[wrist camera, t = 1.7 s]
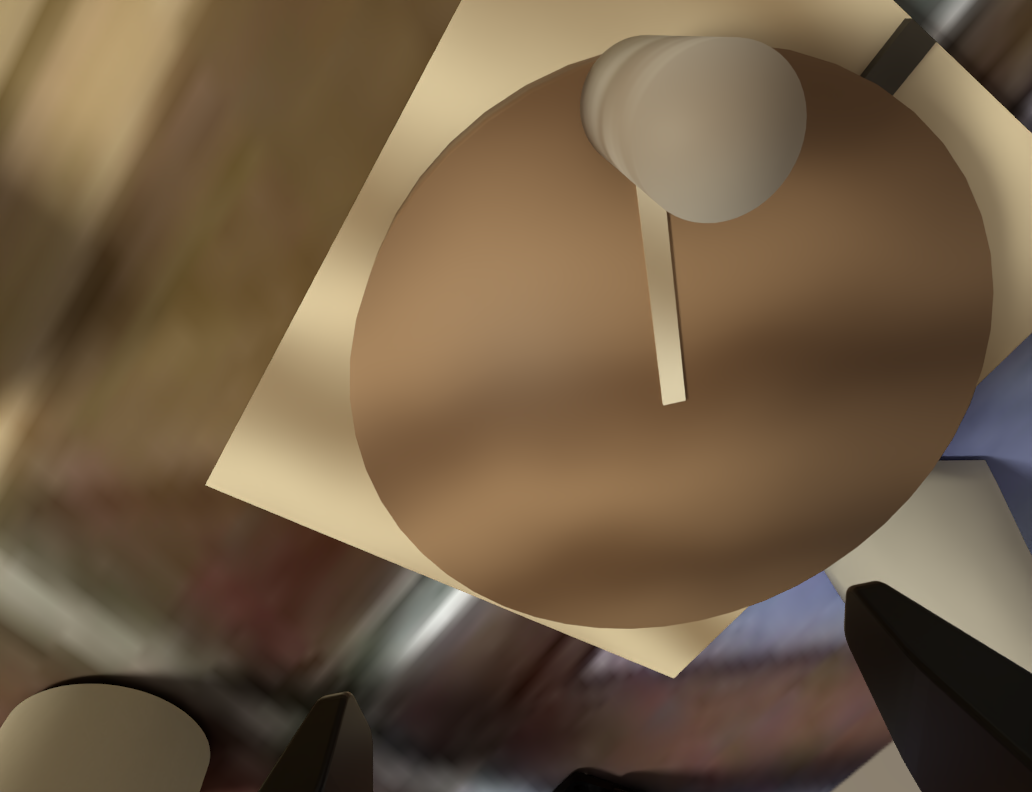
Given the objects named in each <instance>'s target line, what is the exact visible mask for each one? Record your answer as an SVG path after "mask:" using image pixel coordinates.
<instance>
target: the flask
mask: <svg viewBox="0 0 1032 792" xmlns="http://www.w3.org/2000/svg"><path fill="white" fill-rule="evenodd" d="M824 571H825V573H826V575H827V576H828V578H829V579H830V581H831V583H832V584H833V586H834V587H835V589H836V591H837V592H838V594H839V595H840V597H841V599H842V600H843V602H844V603H845V598H846V591H847V589H848V588H849V587H850V586H852V585H856V584H861V583H866V582H871V581H880V582H883V583H885V584H887V585H889V586H890V587H892V588H894V589H895V590H897V591H899V592H900V593H902V594H903V595H905V596H907V597H908V598H910V599H912V600H913V601H915V602H917V603H918V604H920V605H921V606H923V607H925V608H926V609H928V610H930V611H931V612H933V613H934V614H936V615H938V616H939V617H941V618H943V619H944V620H946V621H948V622H949V623H951V624H952V625H954V626H956V627H957V628H959V629H961V630H962V631H964V632H965V633H967V634H969V635H970V636H972V637H974V638H975V639H977V640H979V641H980V642H982V643H983V644H985V645H987V646H988V647H990V648H992V649H993V650H995V651H996V652H998V653H1000V654H1001V655H1003V656H1005V657H1006V658H1008V659H1010V660H1011V661H1013V662H1014V663H1016V664H1018V665H1019V666H1021V667H1023V668H1024V669H1026V670H1027V671H1029V672H1031V673H1032V555H1031V553H1030V551H1029V549H1028V547H1027V545H1026V543H1025V541H1024V539H1023V537H1022V535H1021V533H1020V531H1019V529H1018V527H1017V524H1016V522H1015V520H1014V518H1013V516H1012V514H1011V512H1010V510H1009V508H1008V506H1007V503H1006V501H1005V499H1004V497H1003V495H1002V493H1001V491H1000V489H999V487H998V484H997V482H996V480H995V479H994V477H993V475H992V473H991V471H990V469H989V467H988V465H987V463H986V461H985V460H950V461H938V462H937V464H936V465H935V467H934V468H933V470H932V471H931V472H930V474H929V475H928V476H927V477H926V479H925V480H924V481H923V482H922V484H921V485H920V486H919V487H918V489H917V490H916V491H915V492H914V494H913V495H912V496H911V497H910V498H909V500H908V501H907V502H906V503H905V504H904V505H903V506H902V507H901V508H900V509H899V510H898V511H897V512H896V513H895V514H894V515H893V516H892V517H891V518H890V519H889V520H888V521H887V522H886V523H885V524H884V525H883V526H882V527H880V528H879V529H878V530H877V531H876V532H875V533H873V534H872V535H871V536H870V537H869V538H867V539H866V540H865V541H864V542H863V543H862V544H860V545H859V546H858V547H857V548H855V549H854V550H853V551H851V552H850V553H848V554H847V555H845V556H844V557H843V558H841V559H840V560H838V561H837V562H835V563H834V564H833V565H831V566H830V567H828V568H827V569H825V570H824Z"/></svg>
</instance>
